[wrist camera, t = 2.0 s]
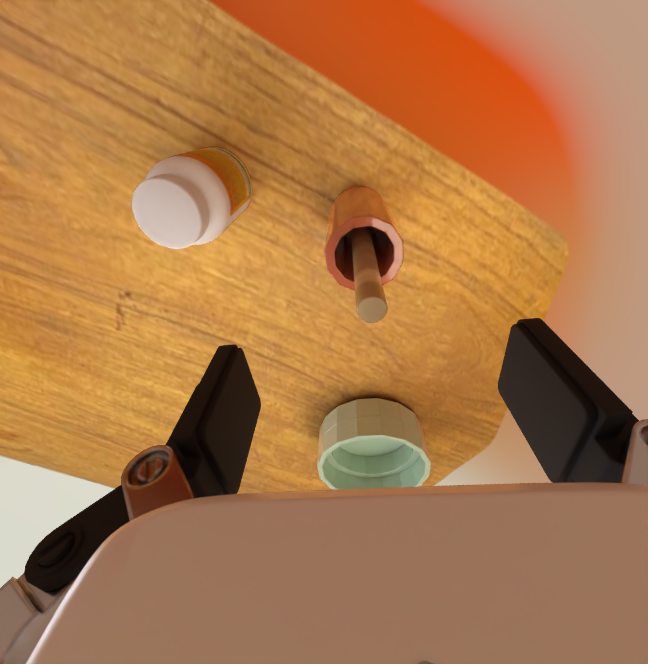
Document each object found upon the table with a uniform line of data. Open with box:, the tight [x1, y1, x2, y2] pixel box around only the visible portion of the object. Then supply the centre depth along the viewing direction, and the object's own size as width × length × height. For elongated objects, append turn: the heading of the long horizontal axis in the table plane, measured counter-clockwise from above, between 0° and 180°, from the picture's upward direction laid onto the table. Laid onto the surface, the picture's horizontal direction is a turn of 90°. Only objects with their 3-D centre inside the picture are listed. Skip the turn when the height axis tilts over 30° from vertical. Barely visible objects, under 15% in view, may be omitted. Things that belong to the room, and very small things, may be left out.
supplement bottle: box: [132, 147, 252, 249], centre depth 22 cm, size 5×5×10 cm
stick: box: [351, 226, 387, 323], centre depth 20 cm, size 1×1×15 cm
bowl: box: [317, 398, 431, 490], centre depth 40 cm, size 13×13×6 cm
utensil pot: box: [324, 187, 403, 291], centre depth 23 cm, size 5×5×9 cm
